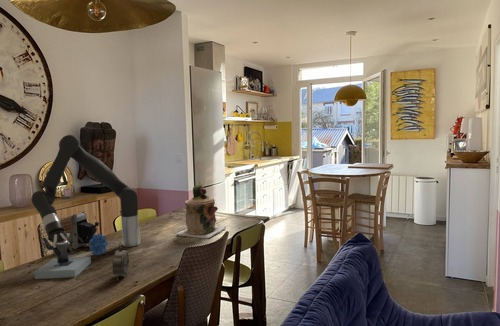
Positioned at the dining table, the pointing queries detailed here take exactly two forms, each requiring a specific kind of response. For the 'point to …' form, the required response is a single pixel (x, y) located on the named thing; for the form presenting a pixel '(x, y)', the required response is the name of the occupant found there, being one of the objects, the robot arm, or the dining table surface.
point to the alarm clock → (120, 262)
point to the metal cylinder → (62, 251)
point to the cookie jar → (200, 215)
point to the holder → (62, 268)
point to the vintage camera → (82, 230)
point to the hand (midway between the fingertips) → (64, 253)
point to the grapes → (98, 244)
